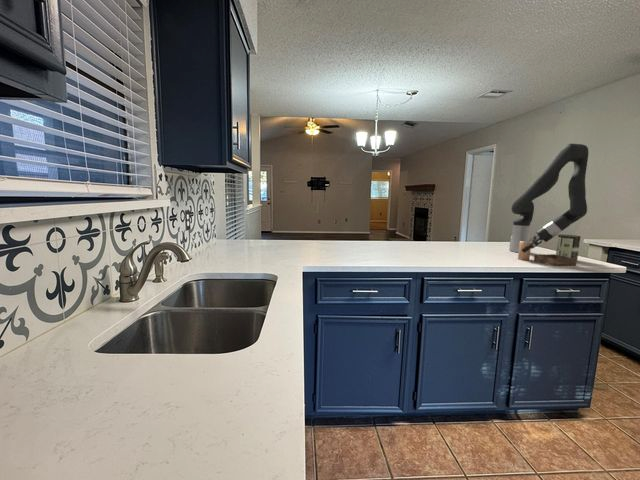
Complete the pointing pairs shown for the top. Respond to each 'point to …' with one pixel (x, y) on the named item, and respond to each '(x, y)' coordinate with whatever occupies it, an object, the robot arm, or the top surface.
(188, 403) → the top surface
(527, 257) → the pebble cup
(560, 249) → the coffee can
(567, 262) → the walnut tray
